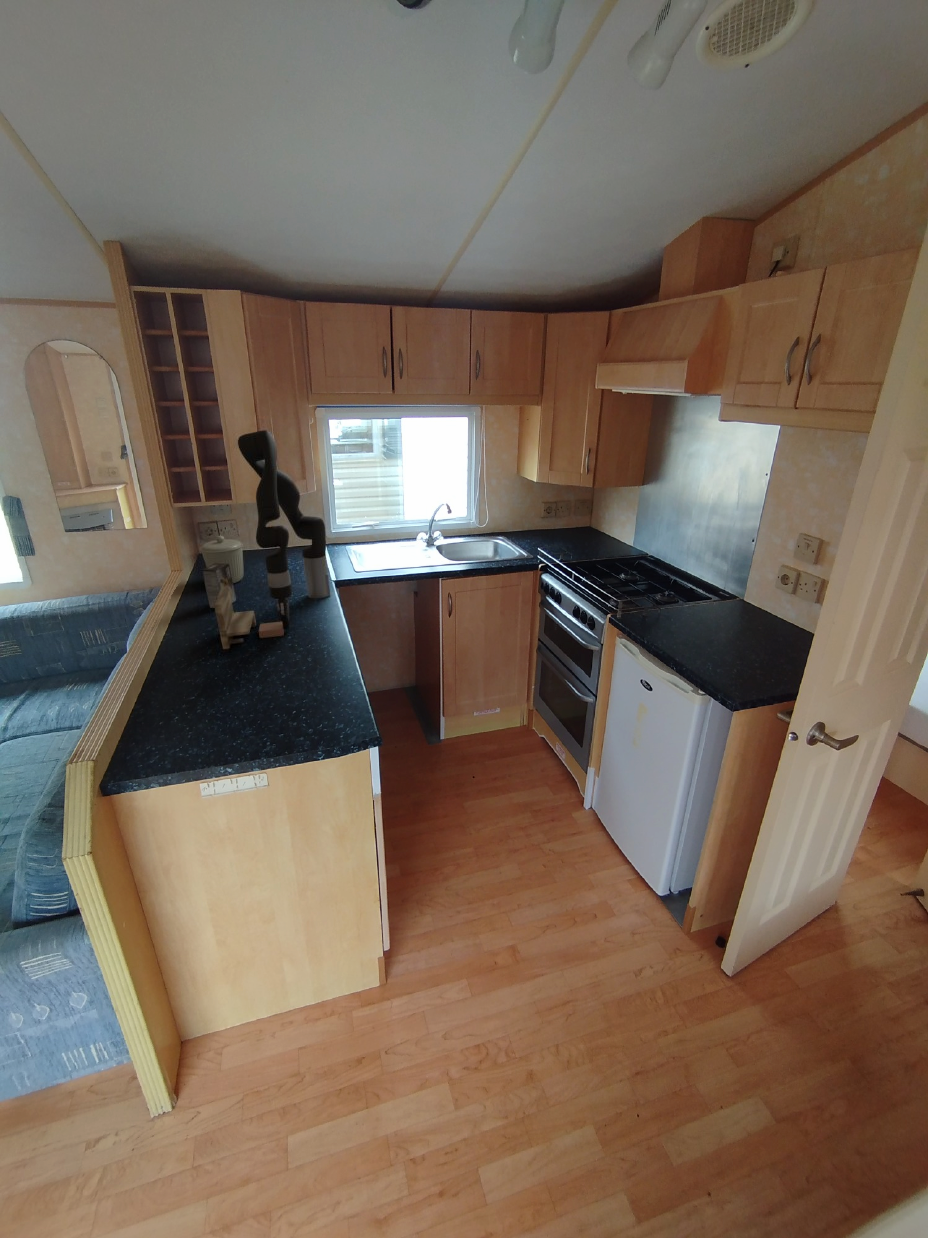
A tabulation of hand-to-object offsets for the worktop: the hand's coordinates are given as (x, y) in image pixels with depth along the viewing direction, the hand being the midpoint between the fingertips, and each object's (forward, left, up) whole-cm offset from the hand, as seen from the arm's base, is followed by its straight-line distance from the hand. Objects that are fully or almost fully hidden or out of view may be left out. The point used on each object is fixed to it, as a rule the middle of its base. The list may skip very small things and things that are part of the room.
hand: (286, 628), depth 200 cm
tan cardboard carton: (+5, 0, -1) cm, 5 cm away
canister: (+28, -65, -1) cm, 71 cm away
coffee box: (+26, -35, -1) cm, 44 cm away
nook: (+16, 0, -1) cm, 16 cm away
